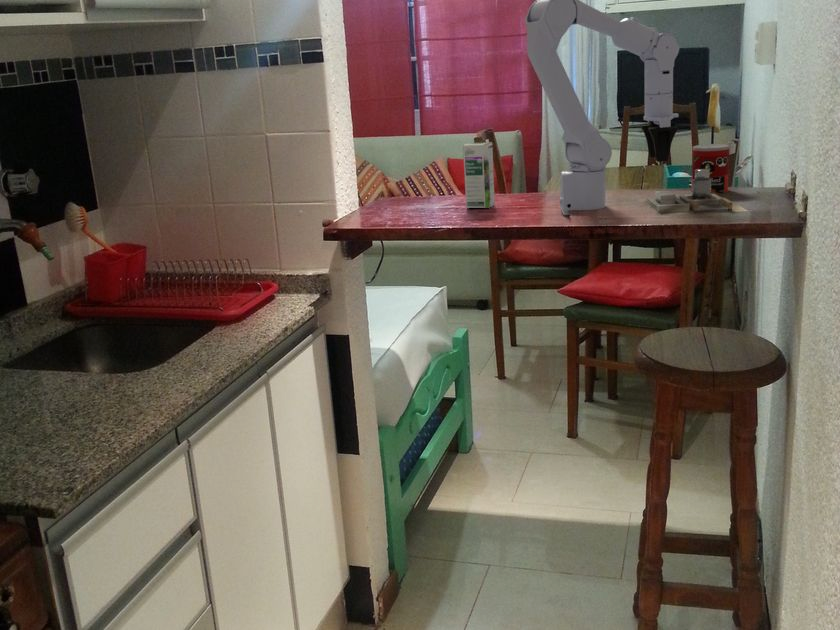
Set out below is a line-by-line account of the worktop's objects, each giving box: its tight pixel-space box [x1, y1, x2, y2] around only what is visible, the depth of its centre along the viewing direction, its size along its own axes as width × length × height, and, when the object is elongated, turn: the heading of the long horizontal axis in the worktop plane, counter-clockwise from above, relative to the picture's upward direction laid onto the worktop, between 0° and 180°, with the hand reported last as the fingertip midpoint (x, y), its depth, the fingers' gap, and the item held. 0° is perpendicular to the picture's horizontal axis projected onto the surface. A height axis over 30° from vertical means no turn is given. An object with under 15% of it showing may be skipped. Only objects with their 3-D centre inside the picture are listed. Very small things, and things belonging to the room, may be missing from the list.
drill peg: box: [691, 169, 711, 200], centre depth 167 cm, size 4×4×7 cm
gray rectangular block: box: [654, 190, 677, 205], centre depth 170 cm, size 3×6×2 cm, turn 175°
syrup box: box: [462, 141, 496, 209], centre depth 186 cm, size 6×6×14 cm
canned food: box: [690, 143, 730, 195], centre depth 181 cm, size 8×8×11 cm
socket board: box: [643, 194, 749, 216], centre depth 167 cm, size 17×17×3 cm
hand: (658, 159), depth 175 cm, fingers open, 7 cm apart
